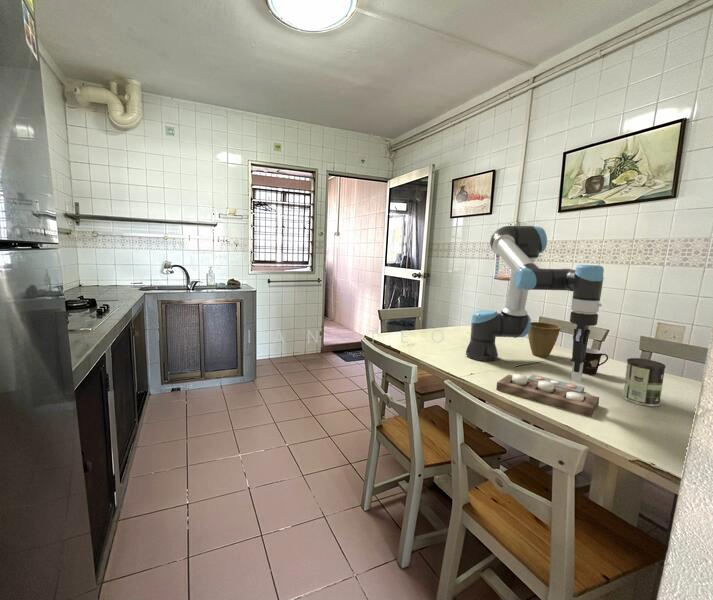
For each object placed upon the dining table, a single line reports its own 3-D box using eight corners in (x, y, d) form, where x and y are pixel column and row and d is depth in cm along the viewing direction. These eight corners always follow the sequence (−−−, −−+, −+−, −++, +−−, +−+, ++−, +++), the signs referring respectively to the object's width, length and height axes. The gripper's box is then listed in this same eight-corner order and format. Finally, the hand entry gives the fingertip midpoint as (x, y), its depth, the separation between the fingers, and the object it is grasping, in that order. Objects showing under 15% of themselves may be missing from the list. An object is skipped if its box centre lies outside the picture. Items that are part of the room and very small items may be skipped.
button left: (509, 382, 126) (510, 376, 126) (514, 379, 130) (515, 373, 130) (524, 386, 123) (524, 380, 123) (528, 383, 126) (529, 376, 126)
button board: (496, 389, 127) (496, 382, 126) (508, 381, 135) (508, 374, 135) (591, 417, 106) (592, 408, 106) (598, 405, 115) (599, 397, 114)
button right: (564, 401, 114) (564, 394, 114) (567, 397, 118) (568, 390, 117) (581, 406, 111) (582, 399, 110) (584, 401, 114) (585, 394, 114)
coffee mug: (577, 373, 146) (579, 351, 145) (574, 368, 154) (577, 346, 152) (609, 378, 141) (612, 355, 139) (605, 372, 148) (608, 350, 147)
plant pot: (521, 355, 172) (524, 324, 170) (528, 349, 183) (531, 320, 181) (554, 361, 163) (557, 329, 160) (559, 355, 174) (563, 325, 172)
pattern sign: (526, 383, 134) (527, 377, 133) (532, 379, 139) (532, 373, 138) (579, 397, 121) (580, 391, 121) (583, 391, 126) (584, 386, 126)
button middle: (535, 389, 120) (536, 383, 120) (540, 386, 124) (540, 379, 123) (551, 393, 117) (552, 387, 116) (555, 389, 120) (555, 383, 120)
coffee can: (656, 398, 121) (661, 361, 120) (663, 409, 113) (669, 369, 111) (620, 392, 127) (625, 356, 125) (624, 401, 118) (629, 363, 116)
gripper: (594, 316, 103) (585, 389, 106) (601, 311, 112) (592, 378, 116) (566, 312, 108) (558, 382, 112) (575, 308, 117) (567, 372, 121)
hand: (575, 380), depth 114 cm, fingers closed
